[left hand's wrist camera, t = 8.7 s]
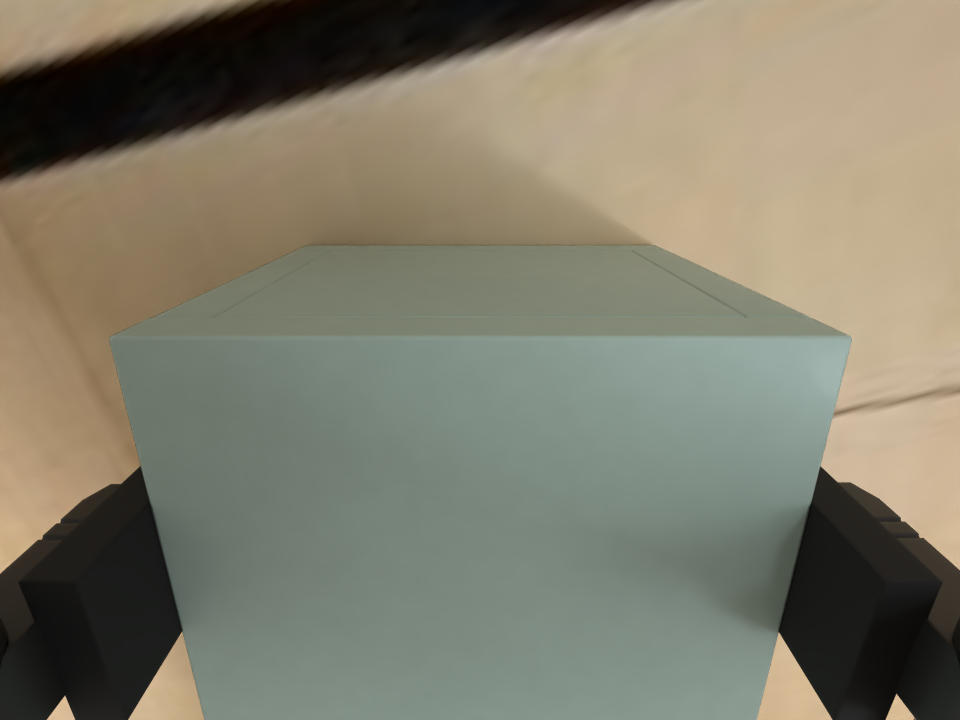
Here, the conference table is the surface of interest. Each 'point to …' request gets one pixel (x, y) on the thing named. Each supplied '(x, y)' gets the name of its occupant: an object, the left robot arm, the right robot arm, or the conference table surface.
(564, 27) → the conference table surface
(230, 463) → the cabinet
